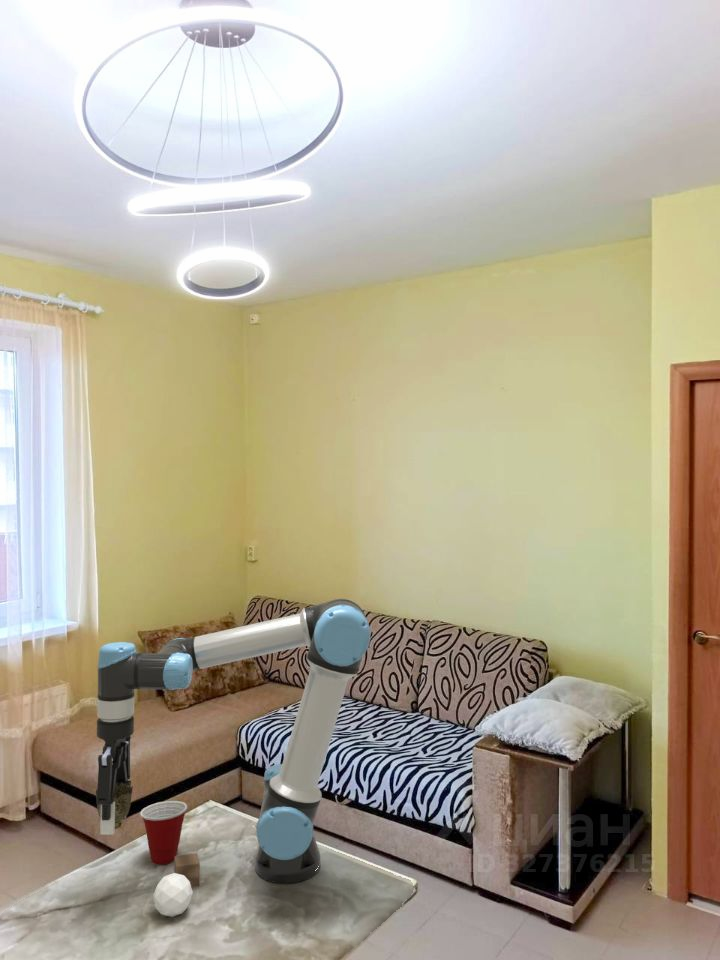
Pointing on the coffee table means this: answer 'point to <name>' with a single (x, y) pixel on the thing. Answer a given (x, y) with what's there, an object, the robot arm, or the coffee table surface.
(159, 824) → the plastic cup
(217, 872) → the coffee table surface
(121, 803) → the ornate bell
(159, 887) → the geometric ball
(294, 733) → the robot arm
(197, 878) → the walnut block
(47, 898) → the coffee table surface
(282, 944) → the coffee table surface
